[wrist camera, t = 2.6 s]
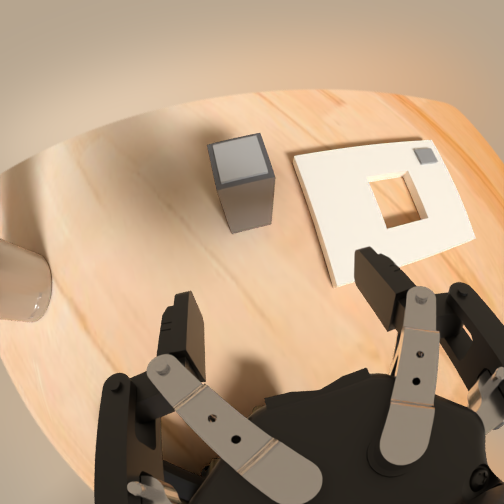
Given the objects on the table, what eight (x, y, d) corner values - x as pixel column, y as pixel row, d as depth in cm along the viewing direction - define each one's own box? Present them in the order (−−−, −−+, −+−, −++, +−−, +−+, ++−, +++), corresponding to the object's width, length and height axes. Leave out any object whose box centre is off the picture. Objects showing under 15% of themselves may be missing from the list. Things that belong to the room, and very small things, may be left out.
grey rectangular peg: (231, 233, 27) (216, 188, 17) (223, 198, 28) (206, 142, 18) (271, 224, 27) (275, 174, 17) (261, 189, 28) (260, 130, 18)
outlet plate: (333, 288, 25) (338, 285, 23) (292, 163, 28) (294, 153, 27) (468, 241, 26) (477, 237, 24) (426, 145, 29) (432, 138, 27)
